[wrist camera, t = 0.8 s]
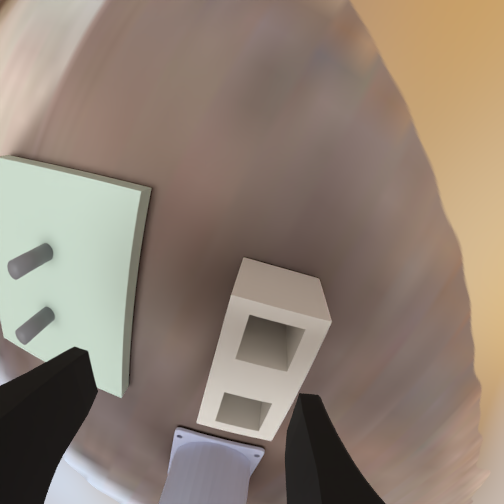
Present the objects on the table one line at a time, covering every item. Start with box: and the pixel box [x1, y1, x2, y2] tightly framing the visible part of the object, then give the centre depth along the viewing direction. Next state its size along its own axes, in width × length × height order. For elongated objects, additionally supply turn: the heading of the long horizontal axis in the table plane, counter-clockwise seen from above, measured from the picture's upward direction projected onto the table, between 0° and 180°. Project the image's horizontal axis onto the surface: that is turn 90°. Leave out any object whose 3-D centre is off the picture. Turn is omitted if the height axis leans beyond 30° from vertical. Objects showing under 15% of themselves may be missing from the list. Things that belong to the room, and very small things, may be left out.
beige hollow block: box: [197, 257, 332, 441], centre depth 17 cm, size 9×5×5 cm, turn 165°
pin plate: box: [0, 155, 152, 398], centre depth 17 cm, size 16×13×5 cm
